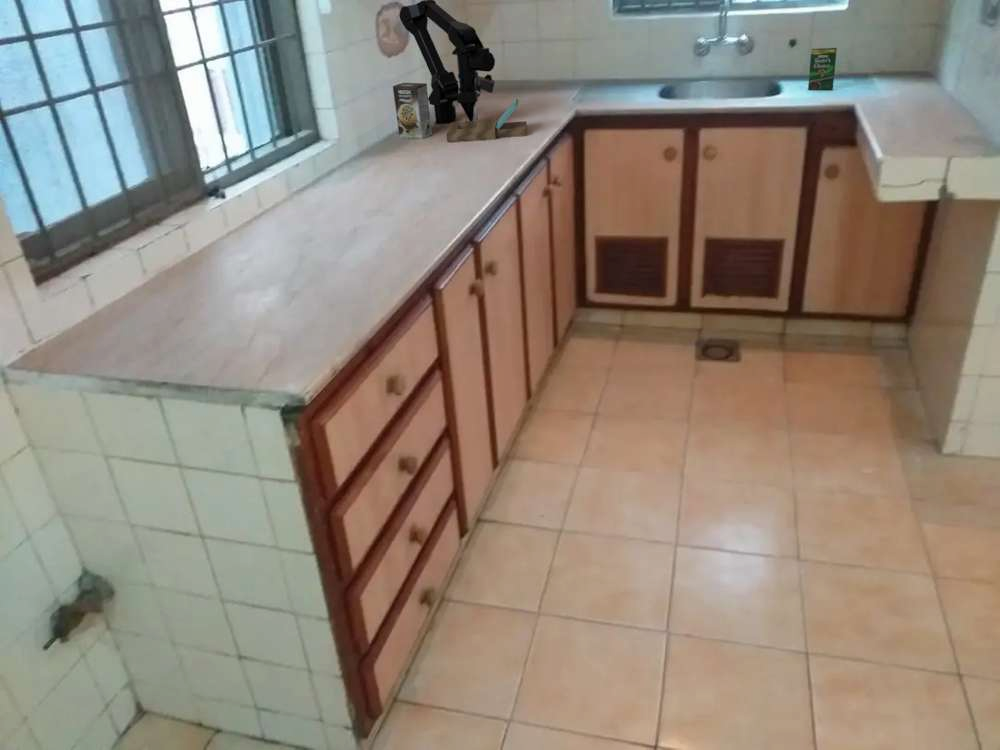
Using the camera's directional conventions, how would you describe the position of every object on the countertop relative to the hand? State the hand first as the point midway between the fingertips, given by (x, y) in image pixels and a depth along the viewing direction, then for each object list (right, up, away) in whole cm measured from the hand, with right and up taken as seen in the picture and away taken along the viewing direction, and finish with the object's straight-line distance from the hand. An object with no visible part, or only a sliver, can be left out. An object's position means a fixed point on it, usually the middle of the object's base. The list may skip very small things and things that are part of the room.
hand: (471, 119), depth 268 cm
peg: (0, -2, +1) cm, 2 cm away
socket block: (+5, -8, -12) cm, 15 cm away
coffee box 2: (+118, +12, +7) cm, 119 cm away
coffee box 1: (-18, -8, -6) cm, 20 cm away
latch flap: (+12, -3, -15) cm, 19 cm away
